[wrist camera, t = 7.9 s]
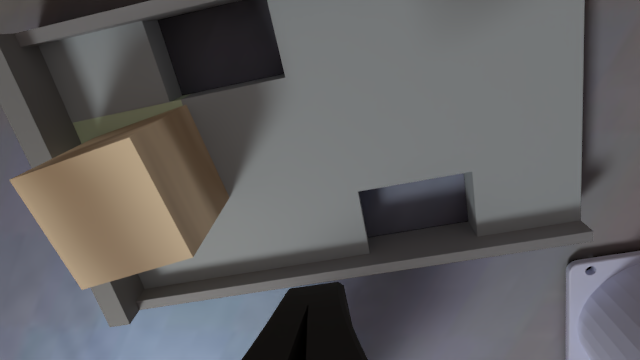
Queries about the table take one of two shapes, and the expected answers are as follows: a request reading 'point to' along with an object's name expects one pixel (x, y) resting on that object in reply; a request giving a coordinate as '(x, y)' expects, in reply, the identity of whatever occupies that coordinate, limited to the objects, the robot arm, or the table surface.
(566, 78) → the board
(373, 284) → the table surface
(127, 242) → the block
